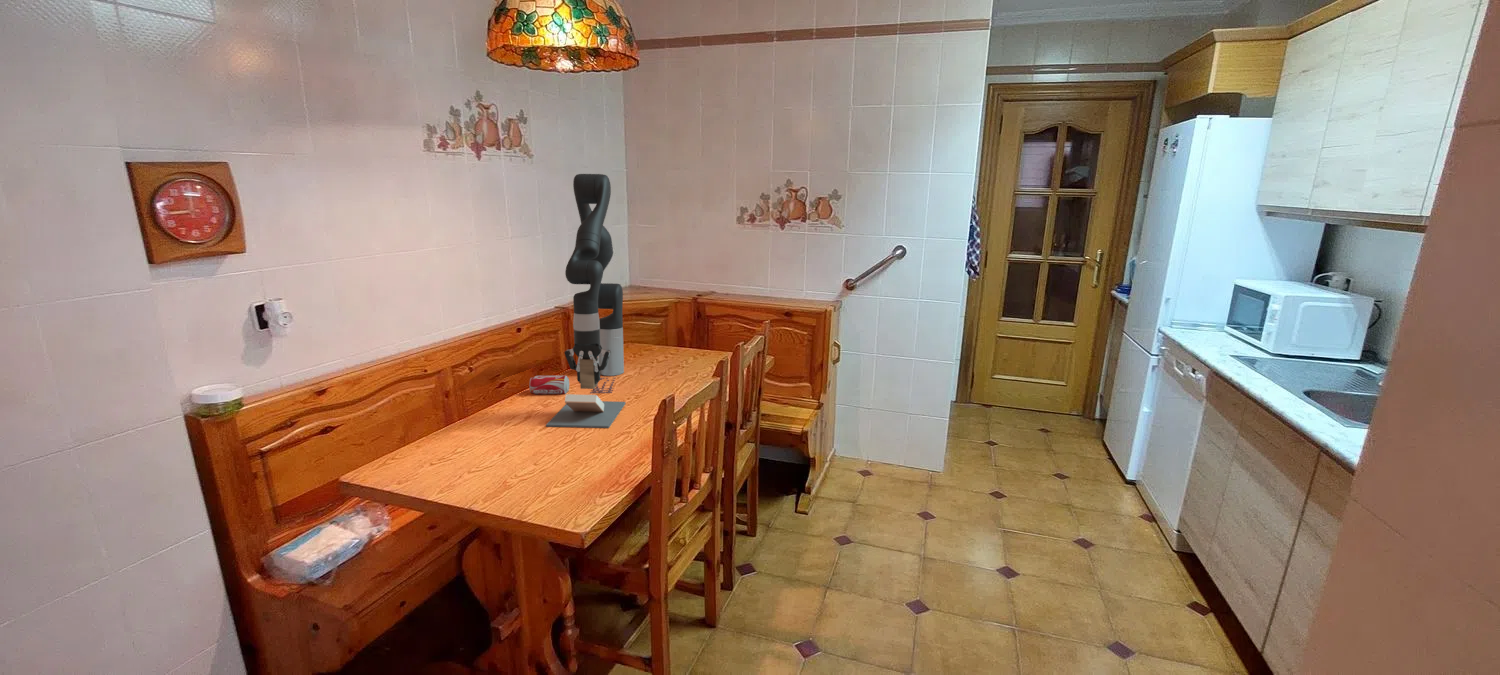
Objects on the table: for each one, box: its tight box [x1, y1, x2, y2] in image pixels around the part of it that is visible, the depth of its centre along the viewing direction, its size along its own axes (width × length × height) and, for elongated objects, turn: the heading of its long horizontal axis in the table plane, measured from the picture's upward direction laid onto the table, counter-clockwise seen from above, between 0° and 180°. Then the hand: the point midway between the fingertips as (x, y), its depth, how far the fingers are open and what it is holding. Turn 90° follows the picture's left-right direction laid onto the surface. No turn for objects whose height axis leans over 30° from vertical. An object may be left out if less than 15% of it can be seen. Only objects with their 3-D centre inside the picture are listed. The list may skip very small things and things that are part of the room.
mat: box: [545, 400, 626, 429], centre depth 183 cm, size 22×18×1 cm
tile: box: [564, 393, 604, 412], centre depth 180 cm, size 2×9×10 cm
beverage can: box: [528, 375, 570, 395], centre depth 202 cm, size 6×6×12 cm
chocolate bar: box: [589, 377, 616, 394], centre depth 212 cm, size 7×19×2 cm, turn 6°
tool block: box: [579, 359, 597, 390], centre depth 183 cm, size 4×4×9 cm
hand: (588, 382), depth 183 cm, fingers closed on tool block, 4 cm apart
